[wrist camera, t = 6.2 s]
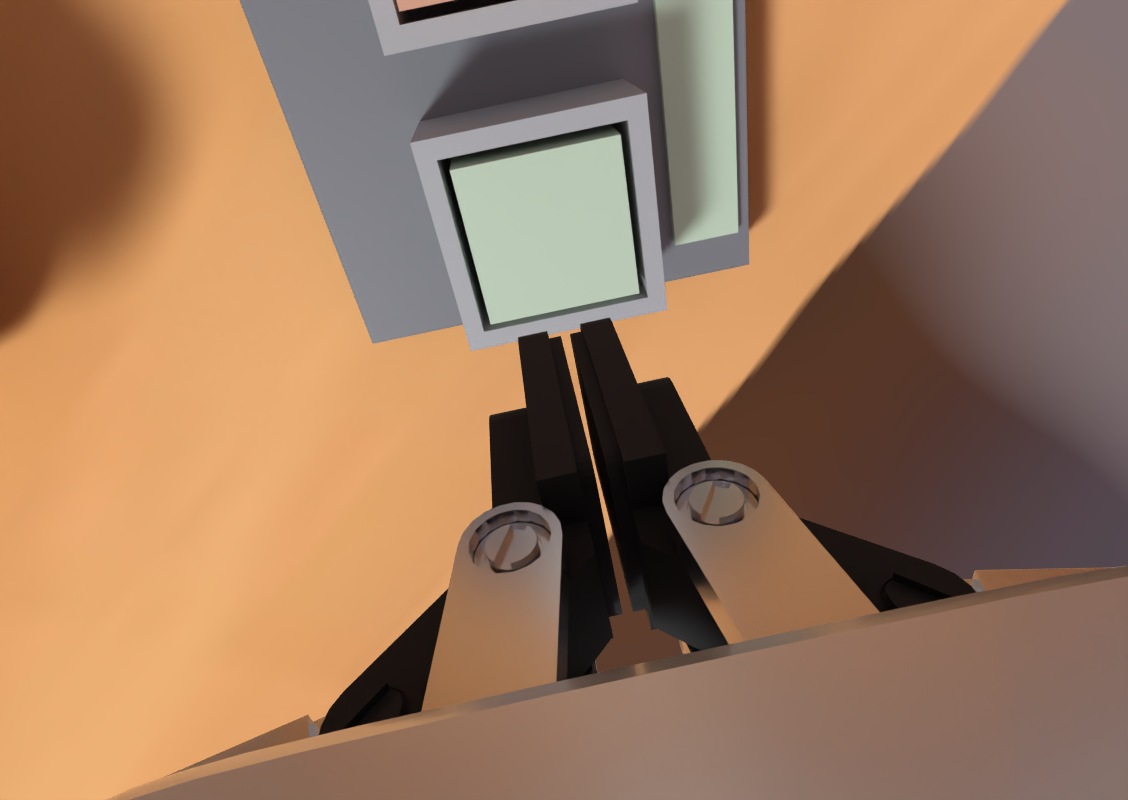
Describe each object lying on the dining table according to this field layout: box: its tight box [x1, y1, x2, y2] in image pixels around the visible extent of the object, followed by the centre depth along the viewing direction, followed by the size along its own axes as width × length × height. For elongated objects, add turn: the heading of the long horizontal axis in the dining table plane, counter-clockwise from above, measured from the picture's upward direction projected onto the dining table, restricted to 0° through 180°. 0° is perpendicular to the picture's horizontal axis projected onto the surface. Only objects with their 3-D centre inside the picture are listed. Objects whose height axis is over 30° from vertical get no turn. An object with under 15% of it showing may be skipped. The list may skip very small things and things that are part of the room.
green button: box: [450, 124, 639, 324], centre depth 21 cm, size 5×5×3 cm
